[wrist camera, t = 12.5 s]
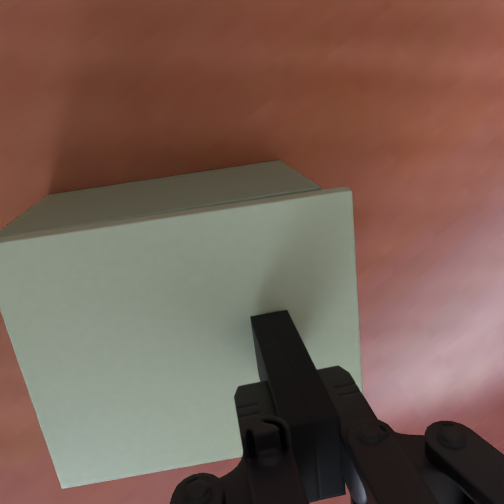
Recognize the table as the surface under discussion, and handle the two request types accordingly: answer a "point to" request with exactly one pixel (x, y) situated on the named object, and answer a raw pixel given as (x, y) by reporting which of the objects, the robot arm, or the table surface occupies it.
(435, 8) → the table surface
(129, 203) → the chest
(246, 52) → the table surface
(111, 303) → the lid
